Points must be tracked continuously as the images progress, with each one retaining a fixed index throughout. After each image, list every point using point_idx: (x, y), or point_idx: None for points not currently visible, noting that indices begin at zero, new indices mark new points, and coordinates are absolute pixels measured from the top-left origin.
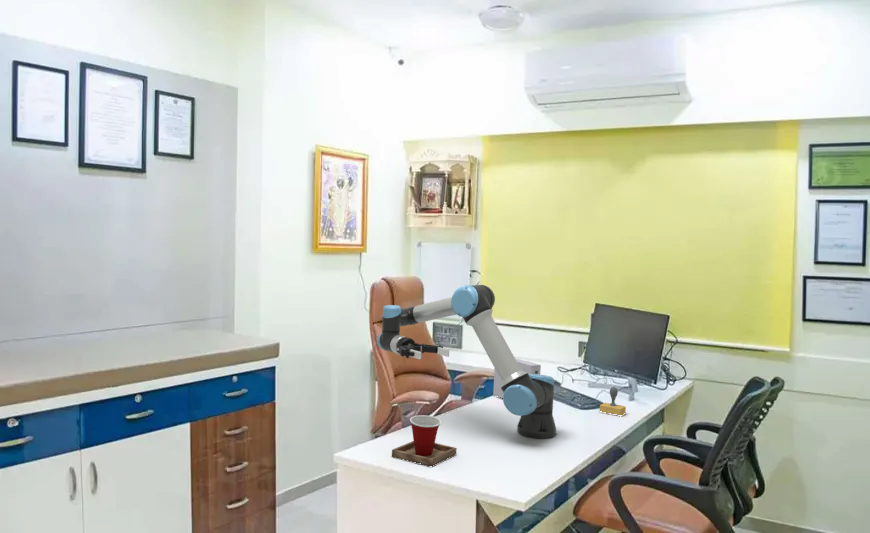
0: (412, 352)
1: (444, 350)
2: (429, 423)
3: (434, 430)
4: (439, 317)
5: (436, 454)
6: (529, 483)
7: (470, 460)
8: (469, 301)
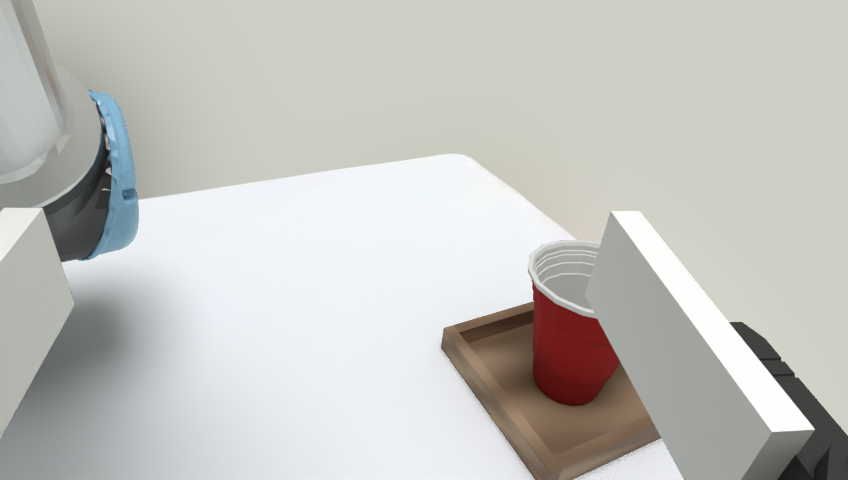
0: (740, 331)
1: (7, 291)
2: (556, 318)
3: (564, 265)
4: None
5: (520, 358)
6: (386, 178)
7: (425, 299)
8: None
